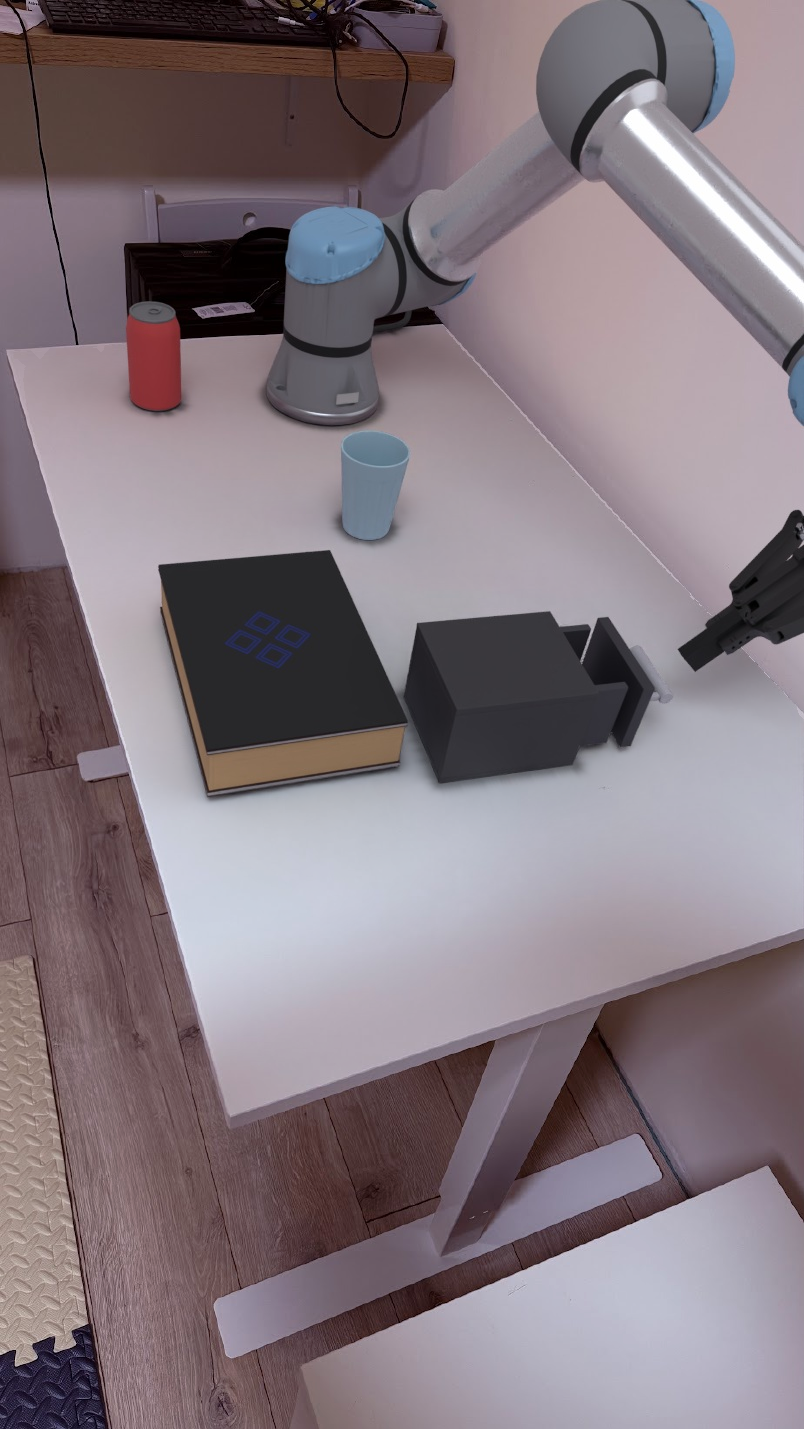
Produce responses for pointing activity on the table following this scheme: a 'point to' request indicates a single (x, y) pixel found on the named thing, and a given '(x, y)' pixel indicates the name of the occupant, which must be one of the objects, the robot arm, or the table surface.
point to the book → (277, 672)
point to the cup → (371, 481)
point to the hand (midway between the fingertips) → (686, 660)
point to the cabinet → (497, 695)
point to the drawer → (615, 682)
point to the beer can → (154, 356)
